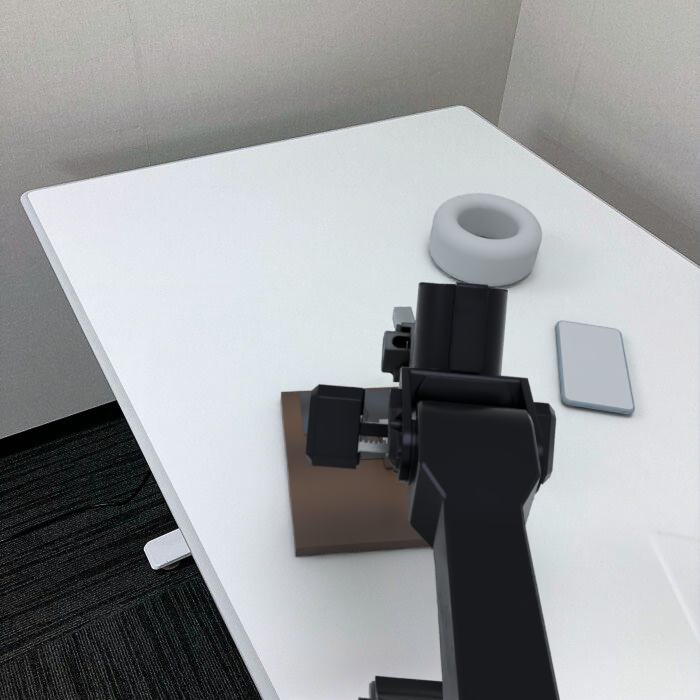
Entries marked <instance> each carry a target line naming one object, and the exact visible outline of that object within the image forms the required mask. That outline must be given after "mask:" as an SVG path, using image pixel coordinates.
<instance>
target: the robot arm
mask: <svg viewBox="0 0 700 700" xmlns="http://www.w3.org/2000/svg"><path fill="white" fill-rule="evenodd" d="M508 297H509V289H504V288H503V289H502V288H495V287H491V286H488V285H485V284H474V283H467V282H464V281H457V282H456V283H437V282H426V281H420V282H418V286H417V298H416V310H415V322H414V323H407V322H402V324H401V325H400V324H396V330H395V329H394V330H385V331H384V332H383V337H382V345H381V364H380V371H381V372H382V373H384V374H391V376H392V383H398V387H399V389H398V388H391V390H390V396H389V407H388V424H386V423H373V422H368V421H369V414H368V412H367V410H366V404H365V389H363V388H364V387H358V386H349V385H348V386H347V385H336V384H324V383H318V384H317V385H316V386H315V387H314V388H313V389H311V390H312V391H311V390H310V391H311V396H310V407H309V418H308V430H307V442H306V456H305V458H306V459H307V460H308V461H309V463H310V464H311V465H312V466H321V467H333V468H346V469H356V465H359V463H360V460H361V456H362V453H363V452H373V453H385V454H387V460H388V461H389V463H390V464H391V465H392V466H393V473H396V482H402V483H406V494H407V507H408V521H409V524H410V525H411V526H412V527H413V529H414V530H415V531H416V532H417V533H418V534H419V535H420V536H421V537H422V538H423V539H424V541H425V542H426V543H427V544H428V545H429V546H430V547H429V548H431V549H432V554H433V562H434V577H435V579H434V580H435V591H436V605H437V606H436V607H437V608H436V609H437V623H438V637H439V639H438V640H439V654H440V668H441V669H440V670H441V671H440V672H441V680H431V679H422V678H421V679H420V678H407V677H396V676H383V675H375V676H374V680H371V682H370V683H368V697H363V696H362V697H361V696H358V697H357V700H561V698H560V697H561V696H560V692H559V687H558V683H557V677H556V673H555V667H554V662H553V656H552V653H551V648H550V642H549V637H548V632H547V628H546V627H547V626H546V623H545V616H544V612H543V608H542V602H541V597H540V593H539V588H538V582H537V578H536V572H535V571H536V570H535V567H534V561H533V558H532V551H531V546H530V540H529V537H528V531H527V526H526V525H527V522H528V520H529V515H530V512H531V509H532V506H533V502H534V499H535V495H536V494H537V493H538V492H539V491H540V488H541V485H544V484H545V483H546V482H547V481H548V480H549V479H550V478H551V476H552V472H553V470H554V455H555V443H556V429H557V416H556V411H555V409H554V408H553V407H552V405H551V404H550V403H549V402H543V401H541V402H540V401H534V397H533V393H532V389H531V385H530V381H529V377H522V376H512V375H511V376H510V375H502V369H503V357H504V345H505V335H506V334H505V333H506V331H505V330H506V322H507V321H506V320H507V308H508ZM367 436H372V437H384V438H388V443H387V444H386V441H385V440H383V442H382V443H381V441H380V439H378V441H377V443H376V441H375V439H373V441H372V443H371V442H370V439H368V440H367V442H366V438H367Z"/></svg>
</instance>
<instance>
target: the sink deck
mask: <svg viewBox="0 0 700 700" xmlns="http://www.w3.org/2000/svg"><path fill="white" fill-rule="evenodd" d="M398 387H399V386H381V387H362V388H363V389H365V404H366V410H367V412H368V414H369V421H368V422H373V423H379V420H381V419H388V407H389V396H390V390H391V388H398ZM312 390H313V389H311V390H295V391H294V390H293V391H292V390H291V391H288V390H287V391H281V392H280V408H281V409H280V410H281V418H282V428H283V429H282V430H283V437H284V438H283V439H284V440H283V441H284V451H285V462H286V472H287V483H288V484H287V485H288V493H289V495H288V496H289V505H290V514H291V515H290V516H291V524H292V525H291V526H292V537H293V546H294V547H293V548H294V549H293V550H294V556H295V557H296V558H297V557H310V556H324V555H335V554H336V555H337V554H349V553H351V554H352V553H363V552H376V551H389V550H400V549H401V550H403V549H413V548H415V549H417V548H426V547H427V548H428V547H429V548H431V547H430V546H429V545H428V544H427V543H426V542H425V541H424V539H423V538H422V537H421V536H420V535H419V534H418V533H417V532H416V531H415V530H414V529H413V527H412V526H411V525H410V524H409V521H408V507H407V494H406V483H402V482H396V473H393V468H385V463H384V458H383V453H373V452H363V453H362V456H361V460H360V463H359V465H356V469H346V468H333V467H321V466H312V465H311V464H310V463H309V461H308V460H307V459H306V458H305V456H306V442H307V430H308V418H309V407H310V396H311V391H312ZM368 439H370V442H371V443H372V441H373V439H375V441H376V443H377V441H378V439H379V437H372V436H367V438H366V442H367V440H368Z"/></svg>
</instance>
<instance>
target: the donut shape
mask: <svg viewBox="0 0 700 700" xmlns="http://www.w3.org/2000/svg"><path fill="white" fill-rule="evenodd" d="M542 239H543V231H542V227H541V224H540V222H539V220H538V218H537V217H536V216H535V215H534V213H533V212H532V211H530V210H529V209H528V208H527V207H525V206H524V205H522V204H521V203H519V202H517V201H515V200H513V199H511V198H507V197H504V196H502V195H497V194H492V193H484V192H482V193H481V192H480V193H479V192H476V193H475V192H473V193H465V194H460V195H456V196H454V197H450V198H449V199H447V200H446V201H444V202H443V203H442V204H441V205H440V206H438V208H437V209H436V211H435V212H434V215H433V218H432V224H431V229H430V235H429V241H428V250H429V254H430V257H431V258H432V260H433V261H434V263H435V264H436V265H437V267H439V268H440V269H441V270H442V271H443V272H445V273H446V274H447V275H449V276H451V277H452V278H454V279H456V280H458V281H460V282H463V283H474V284H485V285H488V287H503V286H509V285H512V284H515V283H517V282H520V281H521V280H523V279H524V278H526V277H527V276H528V275H530V273H531V272H532V270H533V268H534V267H535V265H536V260H537V257H538V254H539V250H540V248H541V244H542V241H543V240H542Z"/></svg>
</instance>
